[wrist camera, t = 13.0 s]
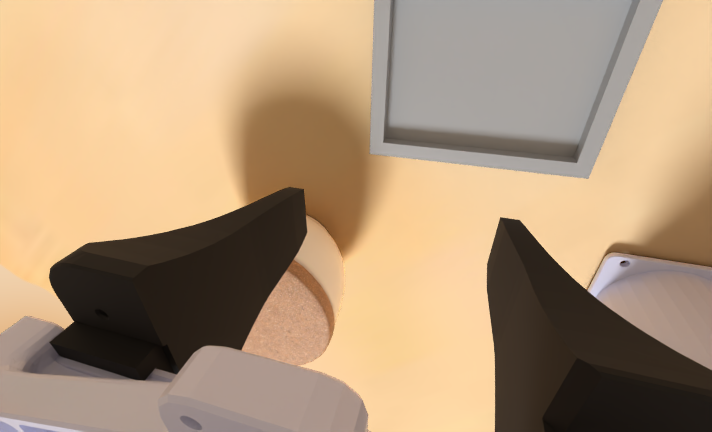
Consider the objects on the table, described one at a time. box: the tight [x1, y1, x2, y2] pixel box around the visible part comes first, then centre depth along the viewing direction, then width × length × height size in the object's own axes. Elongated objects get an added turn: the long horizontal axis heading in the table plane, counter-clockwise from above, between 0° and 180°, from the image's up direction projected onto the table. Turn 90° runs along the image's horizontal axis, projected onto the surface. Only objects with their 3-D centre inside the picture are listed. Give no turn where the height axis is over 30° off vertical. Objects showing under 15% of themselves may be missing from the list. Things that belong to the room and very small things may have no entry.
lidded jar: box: [241, 215, 345, 366], centre depth 24 cm, size 11×11×9 cm
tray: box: [370, 0, 663, 179], centre depth 18 cm, size 12×9×1 cm
